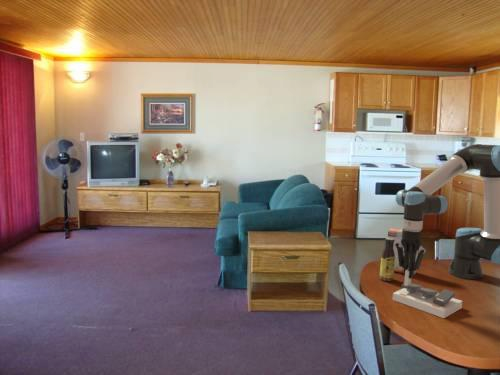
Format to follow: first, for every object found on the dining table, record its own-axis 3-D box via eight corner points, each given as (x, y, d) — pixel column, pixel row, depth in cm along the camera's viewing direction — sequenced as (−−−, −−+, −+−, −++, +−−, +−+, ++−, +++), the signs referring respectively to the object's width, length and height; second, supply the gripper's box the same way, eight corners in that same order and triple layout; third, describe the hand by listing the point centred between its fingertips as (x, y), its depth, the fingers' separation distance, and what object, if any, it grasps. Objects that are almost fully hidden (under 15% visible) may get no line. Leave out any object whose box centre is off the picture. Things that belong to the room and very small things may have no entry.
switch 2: (444, 291, 178) (444, 288, 177) (454, 295, 174) (454, 292, 174) (433, 302, 173) (432, 299, 172) (444, 306, 169) (443, 303, 169)
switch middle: (427, 291, 183) (428, 288, 183) (437, 294, 180) (438, 291, 180) (416, 292, 177) (417, 288, 177) (427, 295, 174) (427, 291, 174)
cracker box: (416, 272, 217) (420, 231, 214) (414, 275, 212) (417, 234, 209) (388, 266, 224) (391, 227, 221) (385, 270, 219) (387, 229, 216)
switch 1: (412, 286, 189) (412, 283, 189) (421, 289, 185) (422, 286, 185) (401, 287, 183) (401, 283, 183) (410, 290, 179) (411, 286, 179)
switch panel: (411, 291, 193) (412, 282, 192) (461, 308, 176) (462, 298, 175) (392, 299, 183) (393, 290, 182) (443, 318, 166) (444, 308, 166)
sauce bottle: (386, 282, 202) (388, 241, 199) (376, 278, 208) (379, 237, 205) (396, 280, 205) (399, 239, 202) (386, 276, 211) (389, 236, 208)
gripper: (392, 227, 181) (388, 282, 184) (422, 234, 171) (417, 291, 174) (402, 225, 185) (398, 278, 189) (432, 231, 176) (426, 287, 179)
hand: (407, 284), depth 181 cm, fingers closed
